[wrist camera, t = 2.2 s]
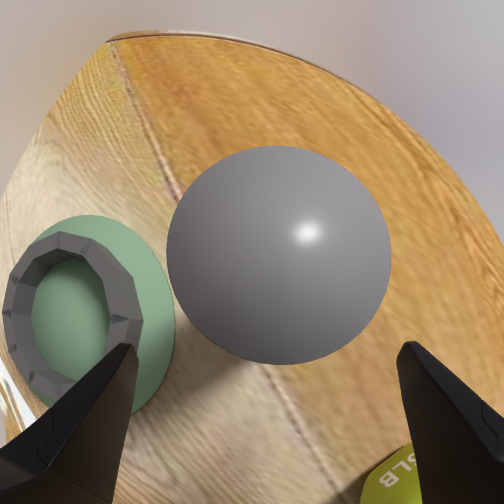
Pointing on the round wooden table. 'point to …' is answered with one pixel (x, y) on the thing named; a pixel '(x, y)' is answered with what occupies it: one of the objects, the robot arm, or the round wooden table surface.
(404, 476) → the dumbbell
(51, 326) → the green round disc
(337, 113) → the round wooden table surface
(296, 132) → the round wooden table surface
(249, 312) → the white gray-capped cylinder
